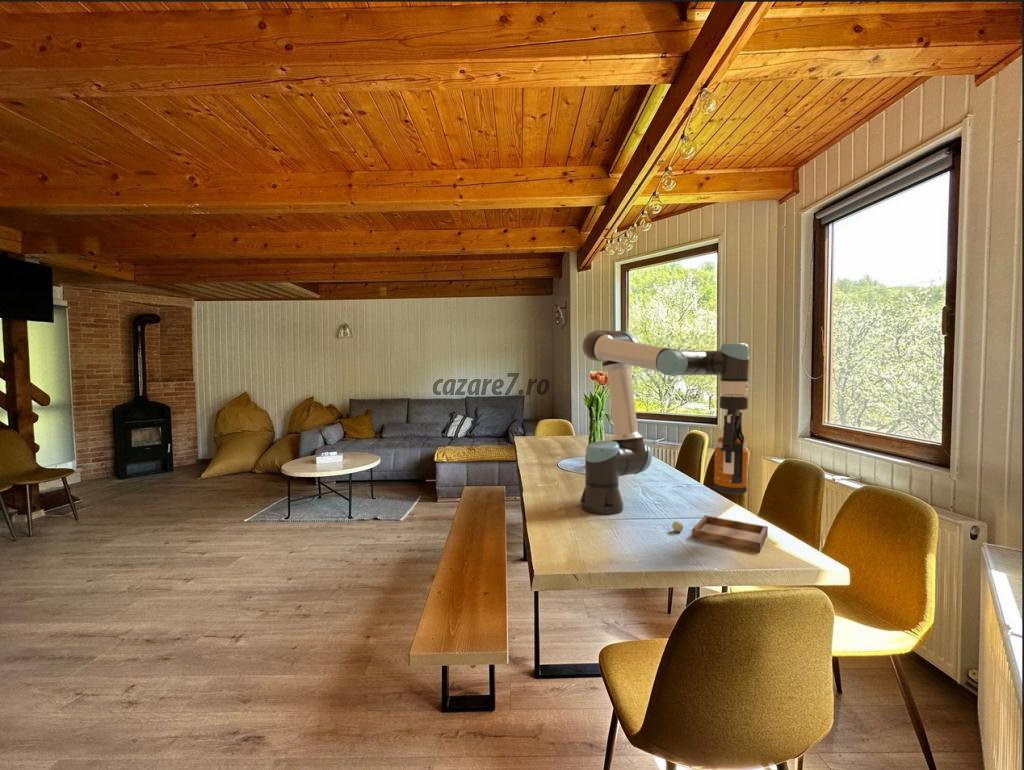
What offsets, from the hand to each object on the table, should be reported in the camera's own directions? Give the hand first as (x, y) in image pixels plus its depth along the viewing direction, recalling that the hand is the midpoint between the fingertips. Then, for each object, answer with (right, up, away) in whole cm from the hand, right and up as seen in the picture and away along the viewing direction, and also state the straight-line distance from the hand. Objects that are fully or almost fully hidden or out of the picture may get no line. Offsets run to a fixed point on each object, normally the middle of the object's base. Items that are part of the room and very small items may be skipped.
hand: (732, 470), depth 140 cm
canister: (0, -7, 0) cm, 7 cm away
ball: (-14, -20, +5) cm, 25 cm away
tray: (0, -20, +1) cm, 20 cm away
